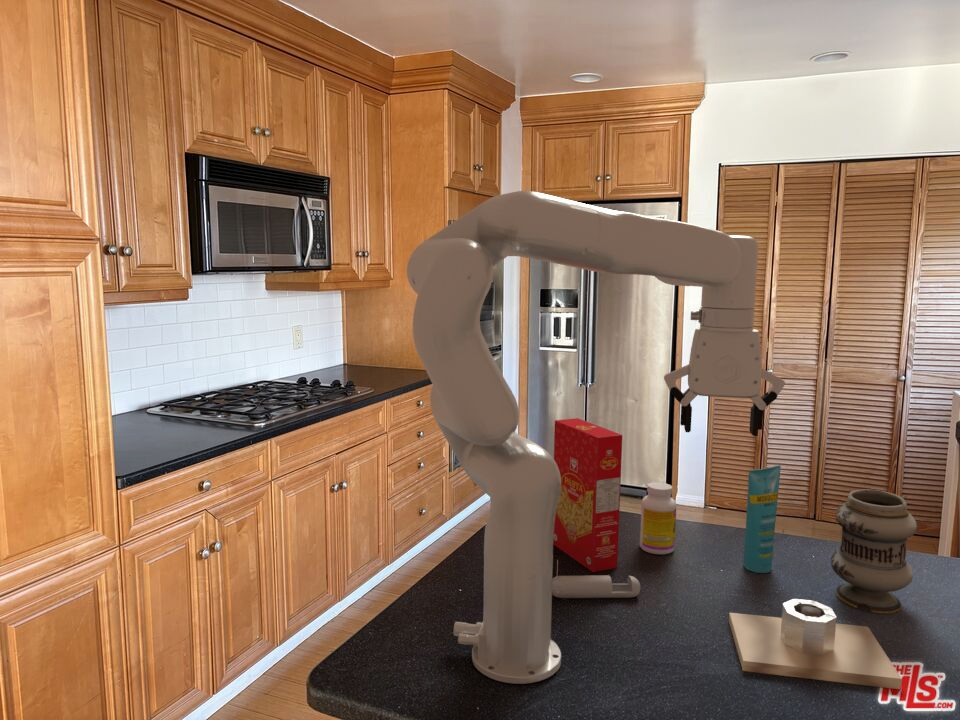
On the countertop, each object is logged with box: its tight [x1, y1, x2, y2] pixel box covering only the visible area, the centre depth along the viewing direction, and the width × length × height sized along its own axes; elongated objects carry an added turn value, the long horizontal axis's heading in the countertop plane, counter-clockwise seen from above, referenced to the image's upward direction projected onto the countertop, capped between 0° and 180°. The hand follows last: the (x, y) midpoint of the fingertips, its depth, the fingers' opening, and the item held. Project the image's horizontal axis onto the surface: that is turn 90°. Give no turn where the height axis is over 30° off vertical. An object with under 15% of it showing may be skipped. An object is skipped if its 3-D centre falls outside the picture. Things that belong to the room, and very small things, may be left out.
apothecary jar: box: [830, 488, 918, 614], centre depth 120 cm, size 12×12×18 cm
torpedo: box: [552, 559, 641, 599], centre depth 121 cm, size 18×5×6 cm, turn 92°
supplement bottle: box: [639, 481, 677, 556], centre depth 141 cm, size 7×7×13 cm
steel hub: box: [781, 598, 838, 656], centre depth 104 cm, size 7×7×5 cm
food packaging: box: [553, 417, 623, 573], centre depth 137 cm, size 15×5×25 cm, turn 25°
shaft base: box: [728, 606, 903, 690], centre depth 104 cm, size 20×14×6 cm
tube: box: [743, 464, 781, 574], centre depth 132 cm, size 7×5×19 cm, turn 120°
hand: (720, 432), depth 110 cm, fingers open, 9 cm apart
